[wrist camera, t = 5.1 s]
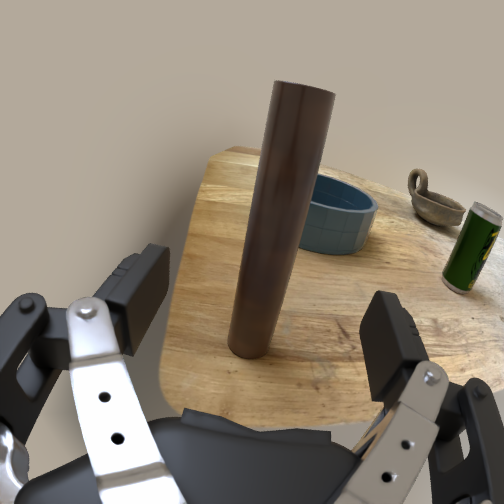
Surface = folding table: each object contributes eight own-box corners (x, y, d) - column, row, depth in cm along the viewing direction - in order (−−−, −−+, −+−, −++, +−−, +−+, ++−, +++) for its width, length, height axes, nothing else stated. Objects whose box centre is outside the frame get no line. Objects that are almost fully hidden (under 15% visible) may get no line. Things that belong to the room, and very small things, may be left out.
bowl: (438, 237, 52) (455, 191, 47) (385, 200, 66) (397, 161, 61) (466, 237, 57) (482, 198, 52) (418, 204, 71) (429, 170, 66)
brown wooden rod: (221, 350, 21) (268, 77, 13) (235, 323, 24) (280, 83, 15) (262, 364, 21) (335, 91, 12) (273, 336, 24) (336, 95, 15)
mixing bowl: (241, 231, 39) (249, 186, 36) (271, 195, 53) (277, 162, 50) (368, 268, 36) (384, 225, 33) (362, 221, 50) (372, 189, 47)
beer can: (438, 283, 36) (473, 204, 30) (442, 270, 40) (472, 198, 34) (468, 300, 33) (506, 222, 27) (469, 285, 37) (502, 215, 31)
